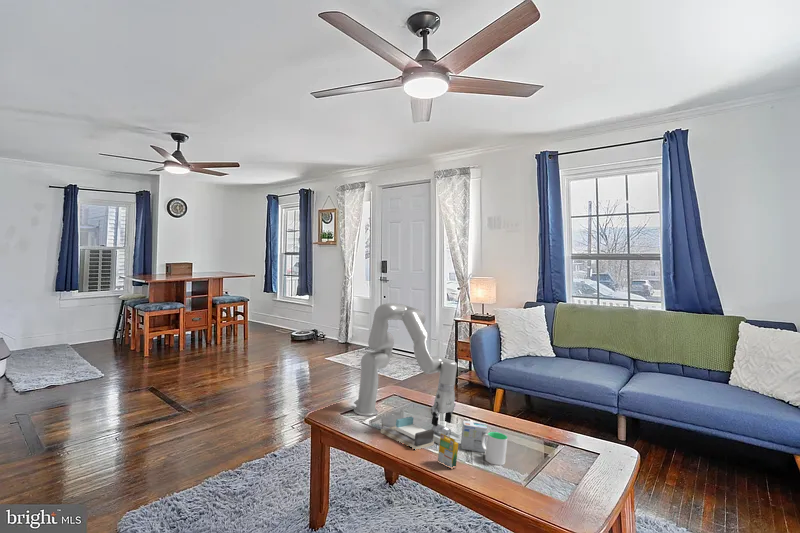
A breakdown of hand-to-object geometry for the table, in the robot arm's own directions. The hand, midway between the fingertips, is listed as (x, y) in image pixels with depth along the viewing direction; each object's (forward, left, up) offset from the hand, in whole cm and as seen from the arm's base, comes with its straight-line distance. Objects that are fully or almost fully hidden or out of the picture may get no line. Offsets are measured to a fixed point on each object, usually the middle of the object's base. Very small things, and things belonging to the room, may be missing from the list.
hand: (441, 423), depth 185 cm
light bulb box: (+16, +4, -7) cm, 18 cm away
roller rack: (+1, 0, -6) cm, 6 cm away
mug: (+27, +2, -7) cm, 28 cm away
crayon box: (+21, -21, -7) cm, 30 cm away
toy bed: (-3, -16, -5) cm, 17 cm away
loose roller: (+1, 0, -5) cm, 5 cm away
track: (-6, -16, -6) cm, 18 cm away
